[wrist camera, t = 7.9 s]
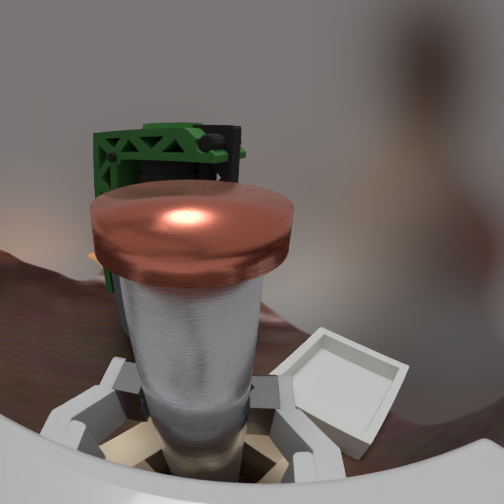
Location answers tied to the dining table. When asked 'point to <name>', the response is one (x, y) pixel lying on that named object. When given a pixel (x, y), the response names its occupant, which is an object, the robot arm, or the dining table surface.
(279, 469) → the block
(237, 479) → the pin
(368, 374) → the tray
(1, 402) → the dining table surface
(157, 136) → the grenade
